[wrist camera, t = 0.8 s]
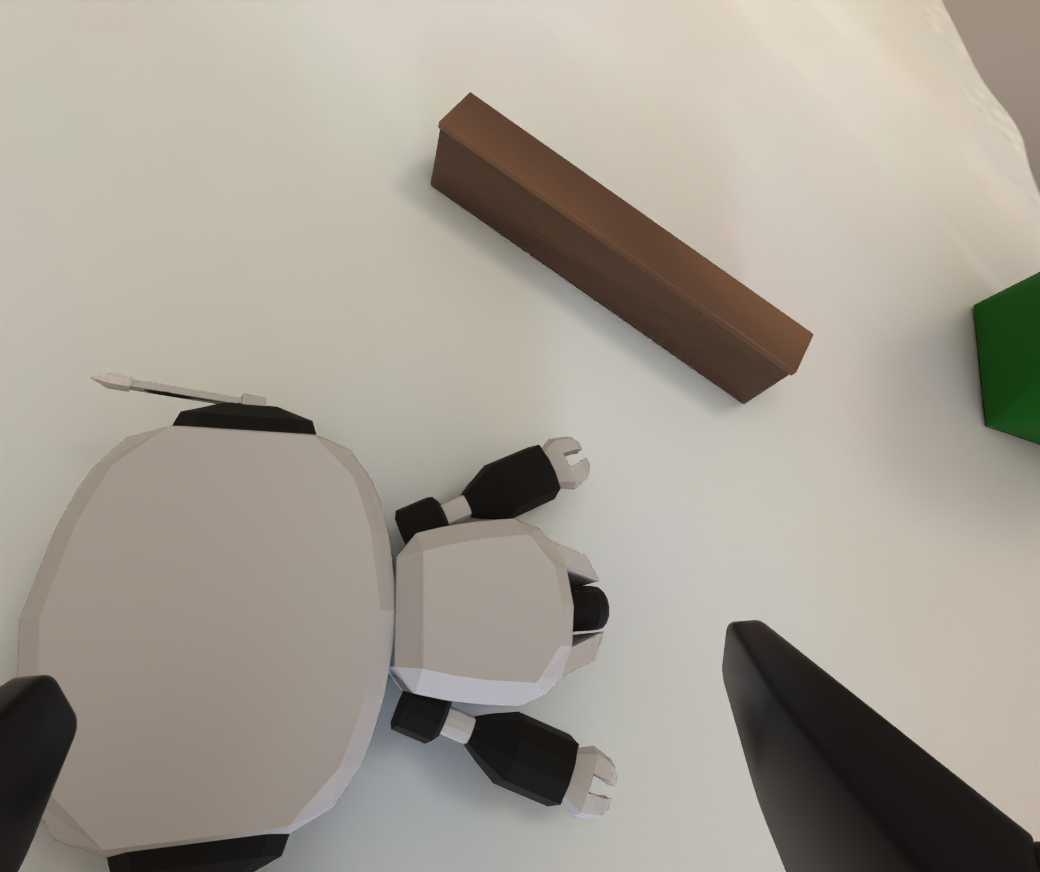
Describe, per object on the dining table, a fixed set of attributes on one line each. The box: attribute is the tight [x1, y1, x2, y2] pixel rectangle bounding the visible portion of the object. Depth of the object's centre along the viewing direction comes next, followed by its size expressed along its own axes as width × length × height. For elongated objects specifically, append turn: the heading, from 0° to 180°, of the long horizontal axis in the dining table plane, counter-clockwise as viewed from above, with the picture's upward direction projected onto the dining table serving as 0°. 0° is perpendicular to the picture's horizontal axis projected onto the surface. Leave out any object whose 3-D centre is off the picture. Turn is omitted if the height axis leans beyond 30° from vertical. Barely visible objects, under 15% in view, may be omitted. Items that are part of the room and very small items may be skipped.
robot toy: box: [18, 373, 617, 872], centre depth 18 cm, size 12×4×15 cm
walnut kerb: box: [431, 92, 813, 404], centre depth 25 cm, size 2×16×3 cm, turn 58°
